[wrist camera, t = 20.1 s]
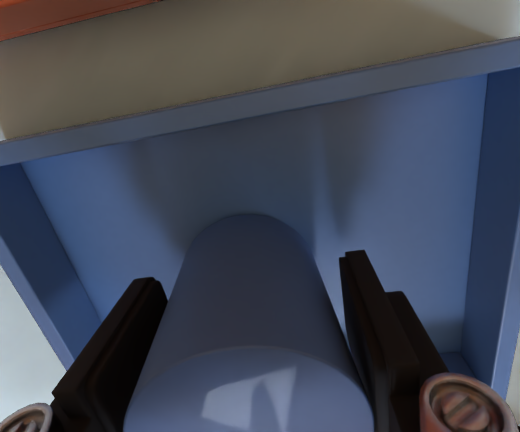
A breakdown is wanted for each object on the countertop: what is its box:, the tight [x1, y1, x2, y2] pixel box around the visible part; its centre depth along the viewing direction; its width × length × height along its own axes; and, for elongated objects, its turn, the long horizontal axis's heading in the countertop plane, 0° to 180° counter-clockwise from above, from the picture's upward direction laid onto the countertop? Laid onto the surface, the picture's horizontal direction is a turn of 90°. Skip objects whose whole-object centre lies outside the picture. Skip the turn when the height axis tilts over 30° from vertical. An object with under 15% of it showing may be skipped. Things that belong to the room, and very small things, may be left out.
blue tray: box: [0, 36, 520, 401], centre depth 11 cm, size 16×12×2 cm
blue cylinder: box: [123, 215, 374, 432], centre depth 9 cm, size 5×5×6 cm
